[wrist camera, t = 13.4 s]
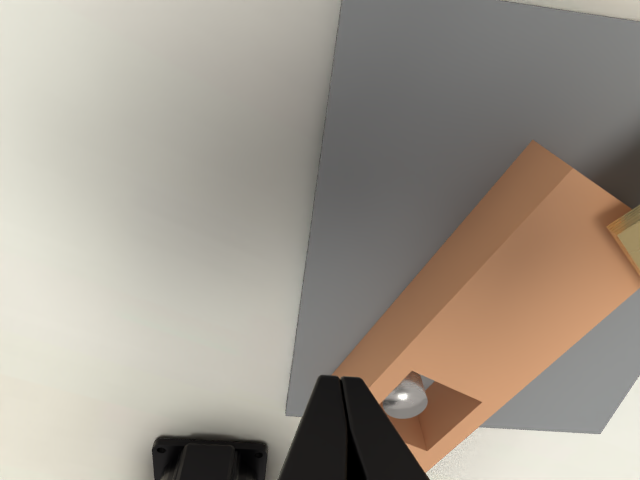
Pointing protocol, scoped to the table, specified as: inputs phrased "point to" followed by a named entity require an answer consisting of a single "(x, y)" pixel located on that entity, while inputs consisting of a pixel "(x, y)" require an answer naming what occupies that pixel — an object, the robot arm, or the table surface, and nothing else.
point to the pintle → (406, 398)
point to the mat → (464, 172)
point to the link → (498, 301)
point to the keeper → (628, 235)
